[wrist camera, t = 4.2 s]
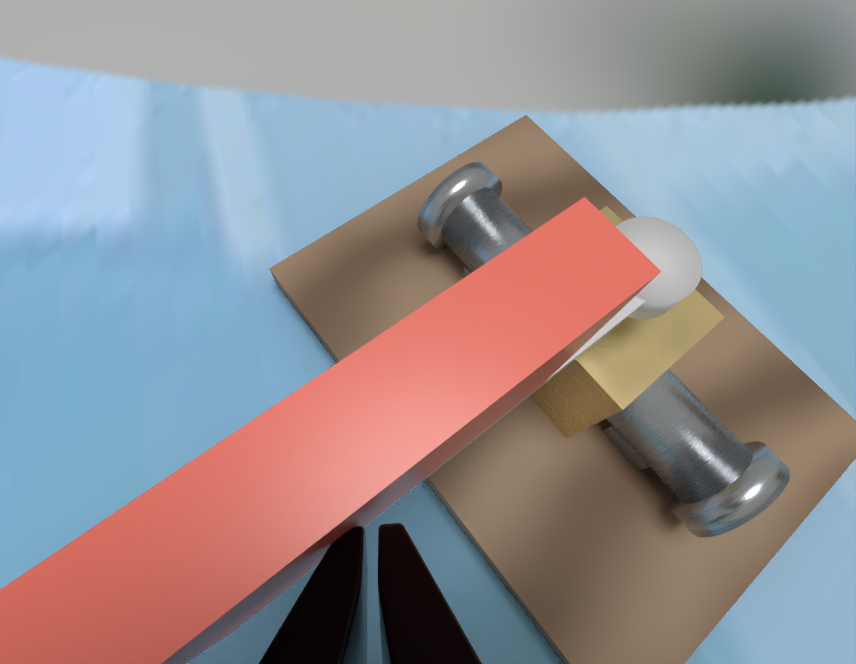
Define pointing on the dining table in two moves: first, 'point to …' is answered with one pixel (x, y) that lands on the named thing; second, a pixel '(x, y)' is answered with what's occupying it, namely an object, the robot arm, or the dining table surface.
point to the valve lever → (339, 449)
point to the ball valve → (625, 375)
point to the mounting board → (582, 433)
